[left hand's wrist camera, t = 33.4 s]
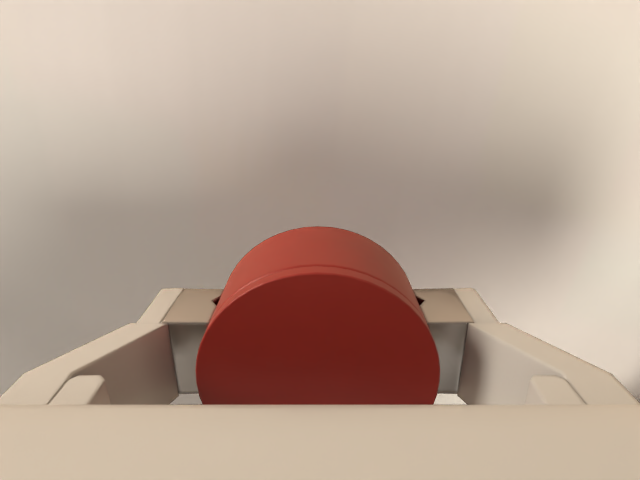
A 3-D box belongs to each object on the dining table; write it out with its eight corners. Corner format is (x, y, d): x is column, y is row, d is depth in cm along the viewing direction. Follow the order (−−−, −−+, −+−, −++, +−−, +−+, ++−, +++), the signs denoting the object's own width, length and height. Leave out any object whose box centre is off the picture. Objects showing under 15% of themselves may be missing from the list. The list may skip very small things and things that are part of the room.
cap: (182, 300, 10) (142, 365, 8) (337, 183, 9) (342, 220, 7) (303, 419, 11) (299, 502, 9) (450, 329, 10) (486, 400, 8)
